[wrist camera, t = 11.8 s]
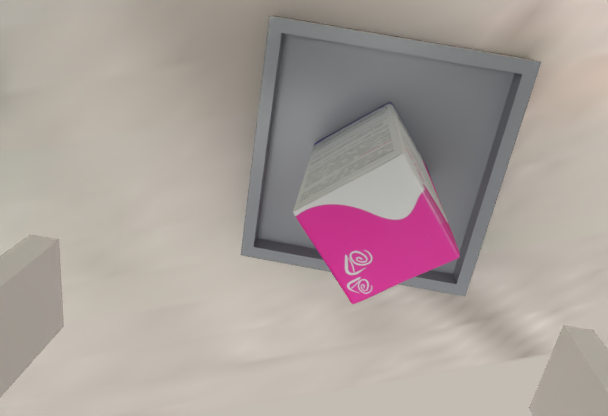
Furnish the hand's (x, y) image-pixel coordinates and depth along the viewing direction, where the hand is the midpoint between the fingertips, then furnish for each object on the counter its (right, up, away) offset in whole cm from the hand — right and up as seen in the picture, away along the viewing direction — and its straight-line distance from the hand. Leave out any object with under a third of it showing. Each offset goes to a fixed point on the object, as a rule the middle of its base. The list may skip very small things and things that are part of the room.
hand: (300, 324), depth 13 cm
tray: (+5, +6, +20) cm, 22 cm away
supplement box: (+5, +6, +20) cm, 21 cm away
